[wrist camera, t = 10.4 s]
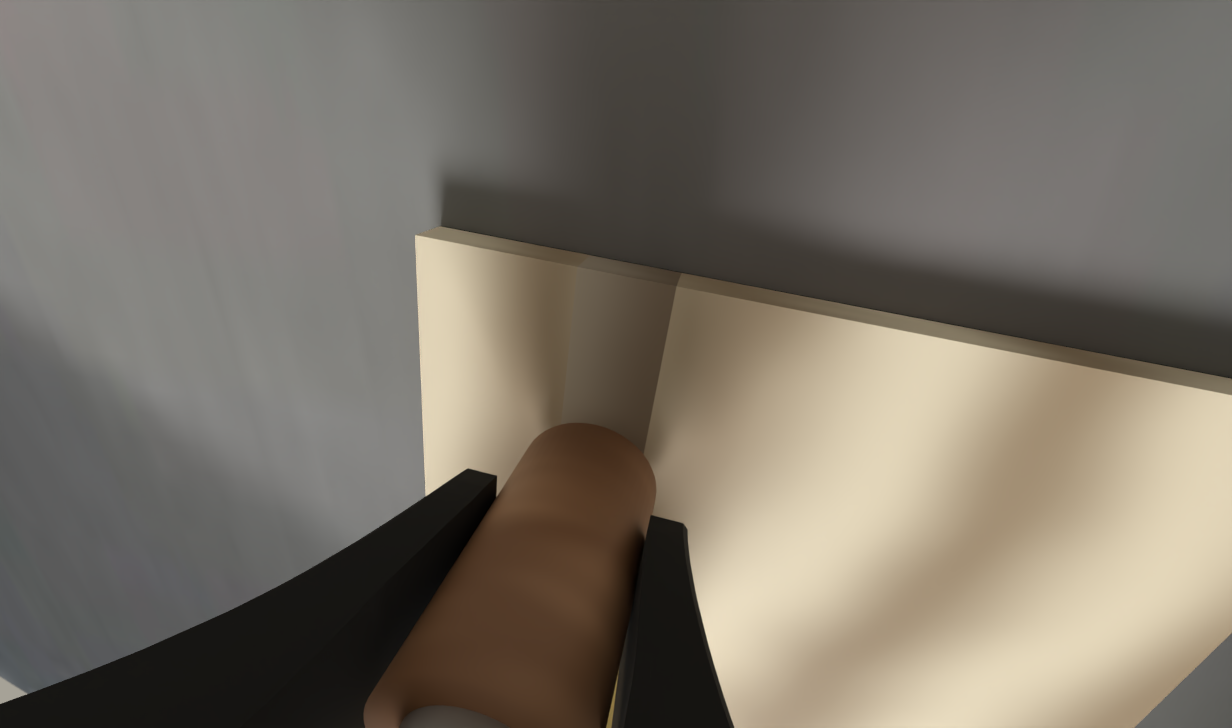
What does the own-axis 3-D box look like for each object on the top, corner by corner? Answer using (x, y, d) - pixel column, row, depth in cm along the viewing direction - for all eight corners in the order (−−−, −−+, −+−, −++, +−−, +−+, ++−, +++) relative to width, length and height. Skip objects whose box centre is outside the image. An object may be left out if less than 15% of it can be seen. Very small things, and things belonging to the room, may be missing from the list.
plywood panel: (1368, 405, 9) (1434, 435, 8) (910, 897, 19) (919, 935, 18) (439, 226, 12) (414, 234, 11) (449, 744, 21) (437, 771, 20)
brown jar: (667, 441, 10) (582, 841, 5) (644, 549, 12) (555, 964, 6) (526, 408, 11) (284, 739, 5) (519, 516, 12) (322, 875, 6)
